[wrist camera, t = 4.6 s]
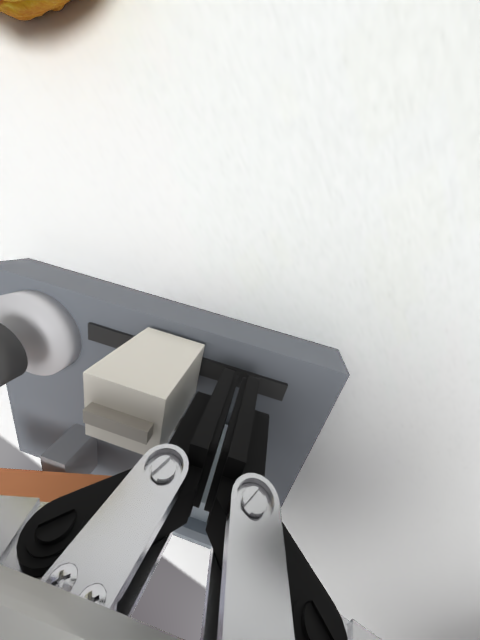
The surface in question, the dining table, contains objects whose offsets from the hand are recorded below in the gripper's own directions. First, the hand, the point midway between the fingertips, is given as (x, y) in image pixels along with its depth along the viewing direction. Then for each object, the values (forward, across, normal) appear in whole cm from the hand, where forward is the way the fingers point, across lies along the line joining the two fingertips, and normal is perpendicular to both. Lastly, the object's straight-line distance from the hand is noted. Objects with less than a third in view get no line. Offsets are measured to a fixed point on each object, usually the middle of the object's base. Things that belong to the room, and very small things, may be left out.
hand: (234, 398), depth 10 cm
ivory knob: (+1, +4, 0) cm, 4 cm away
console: (+4, +5, +6) cm, 9 cm away
